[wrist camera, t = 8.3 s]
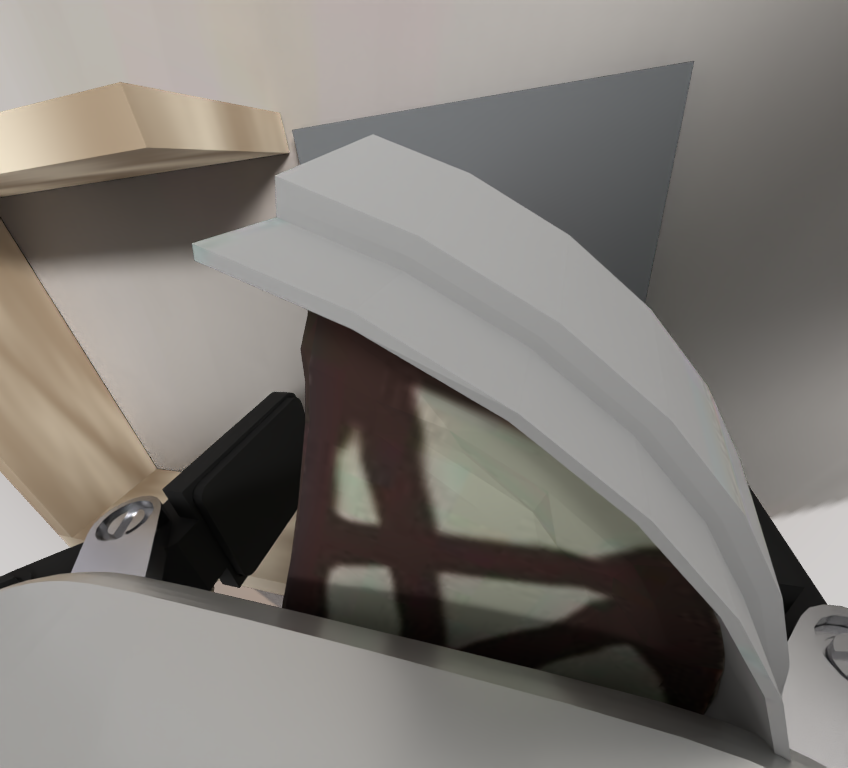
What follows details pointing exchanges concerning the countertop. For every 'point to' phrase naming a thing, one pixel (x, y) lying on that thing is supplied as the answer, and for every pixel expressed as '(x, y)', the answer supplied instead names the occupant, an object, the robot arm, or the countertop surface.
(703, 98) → the countertop surface
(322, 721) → the robot arm
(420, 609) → the food container
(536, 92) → the mat
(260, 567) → the open box
